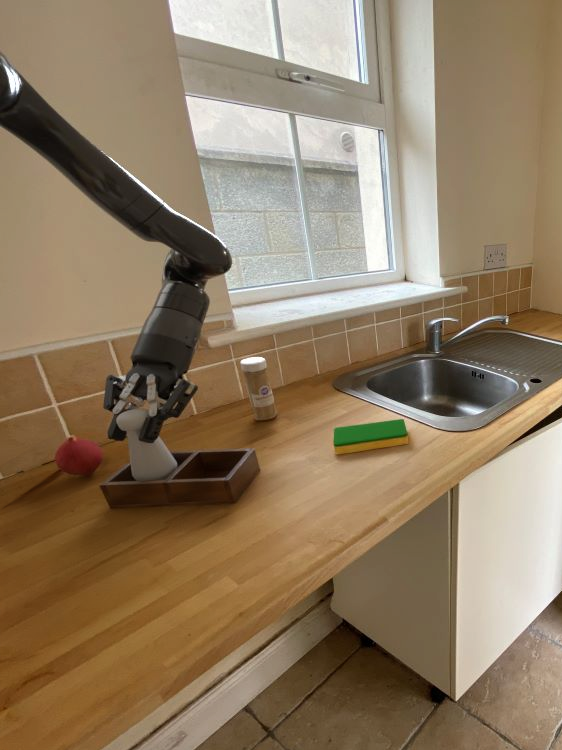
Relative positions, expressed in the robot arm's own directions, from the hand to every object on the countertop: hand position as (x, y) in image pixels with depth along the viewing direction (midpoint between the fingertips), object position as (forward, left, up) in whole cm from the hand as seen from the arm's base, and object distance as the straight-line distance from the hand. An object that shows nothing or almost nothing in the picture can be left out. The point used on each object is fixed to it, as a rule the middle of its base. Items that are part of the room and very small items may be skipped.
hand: (130, 440), depth 69 cm
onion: (-14, +7, -11) cm, 19 cm away
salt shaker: (0, +2, -9) cm, 9 cm away
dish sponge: (+32, +16, -11) cm, 37 cm away
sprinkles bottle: (+7, +28, -11) cm, 31 cm away
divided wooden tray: (+5, +2, -11) cm, 12 cm away
